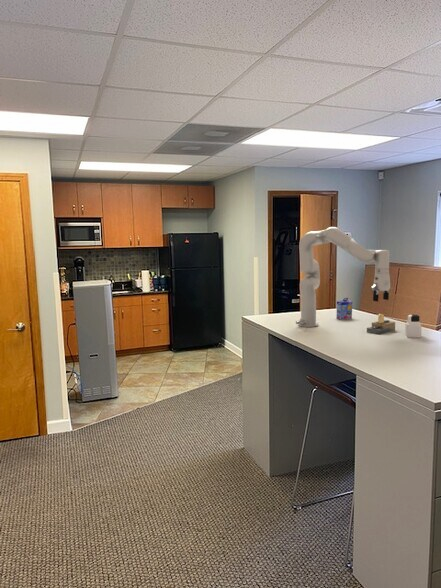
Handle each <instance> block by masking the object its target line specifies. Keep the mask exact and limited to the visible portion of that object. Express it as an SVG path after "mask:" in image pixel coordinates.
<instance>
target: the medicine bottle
mask: <svg viewBox="0 0 441 588" xmlns="http://www.w3.org/2000/svg"><path fill="white" fill-rule="evenodd" d="M404 331H405V336H406V337H407V338H419V339H421V338H422V324H421V323H420V316H419V314H409V315H407V321H406V322H405V329H404Z"/></svg>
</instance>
